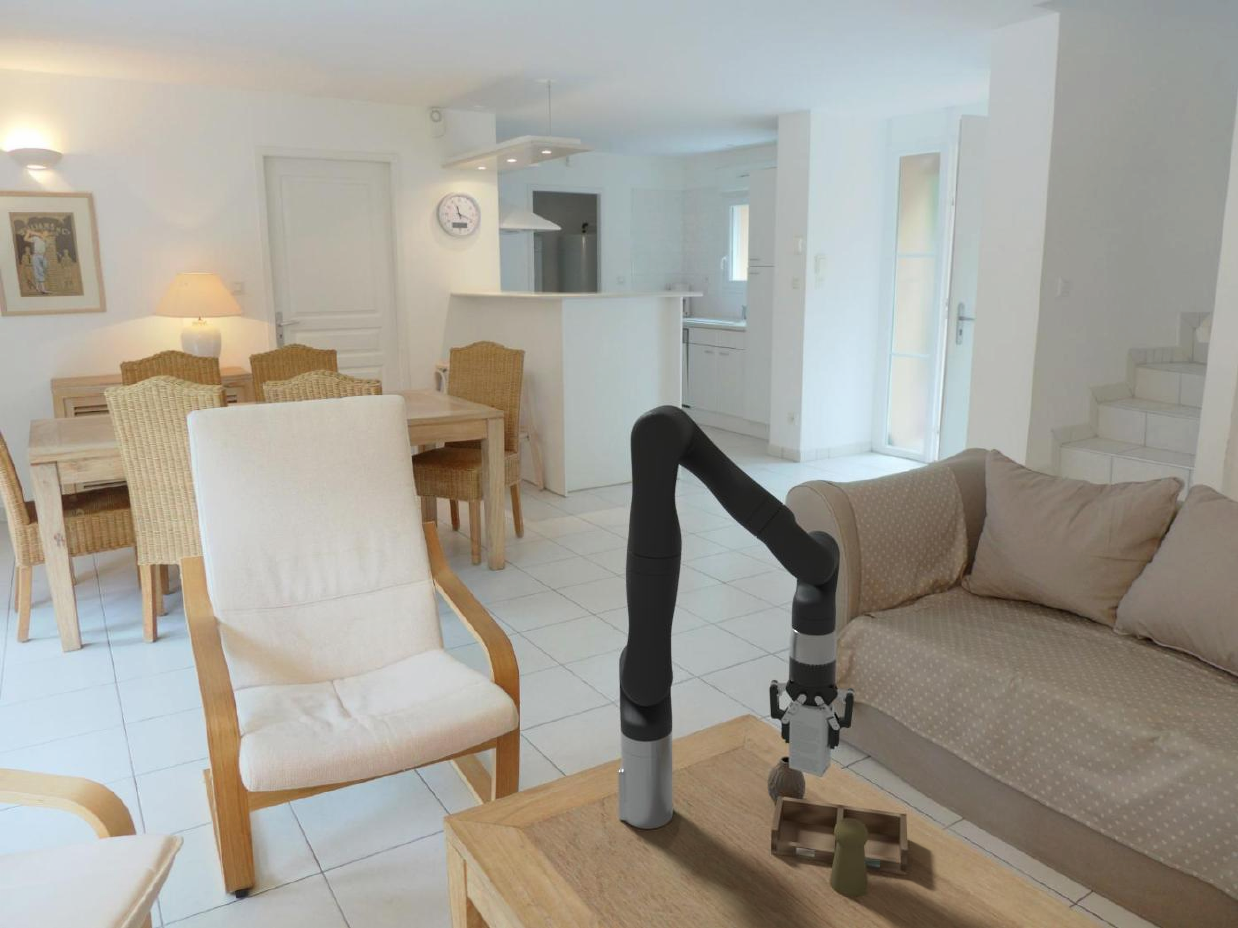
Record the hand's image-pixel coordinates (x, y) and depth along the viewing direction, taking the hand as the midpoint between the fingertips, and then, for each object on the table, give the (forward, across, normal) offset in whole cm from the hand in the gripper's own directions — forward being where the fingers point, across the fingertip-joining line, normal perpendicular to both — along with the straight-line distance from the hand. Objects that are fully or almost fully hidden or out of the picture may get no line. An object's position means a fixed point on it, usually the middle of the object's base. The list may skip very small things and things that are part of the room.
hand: (810, 743), depth 152 cm
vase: (+19, -5, +11) cm, 23 cm away
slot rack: (+19, +5, 0) cm, 20 cm away
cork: (+19, +7, -9) cm, 22 cm away
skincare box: (+5, 0, 0) cm, 5 cm away
